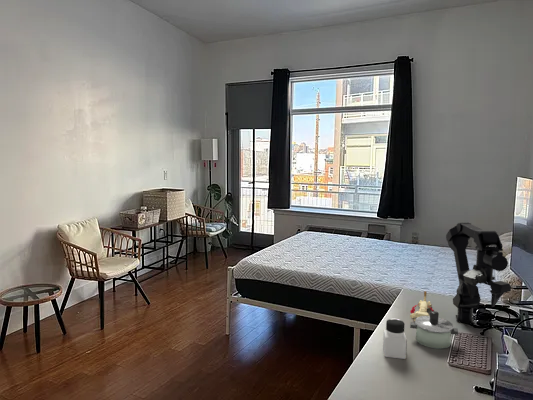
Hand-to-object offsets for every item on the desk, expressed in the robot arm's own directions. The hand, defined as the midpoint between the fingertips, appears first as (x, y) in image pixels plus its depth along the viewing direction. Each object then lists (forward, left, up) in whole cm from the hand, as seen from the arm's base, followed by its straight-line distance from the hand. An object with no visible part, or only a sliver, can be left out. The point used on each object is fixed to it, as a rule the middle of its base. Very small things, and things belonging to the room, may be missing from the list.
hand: (482, 302), depth 152 cm
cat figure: (-11, -21, -13) cm, 27 cm away
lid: (+13, -17, -7) cm, 22 cm away
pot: (+13, -17, -13) cm, 25 cm away
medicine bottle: (+28, -30, -13) cm, 43 cm away
